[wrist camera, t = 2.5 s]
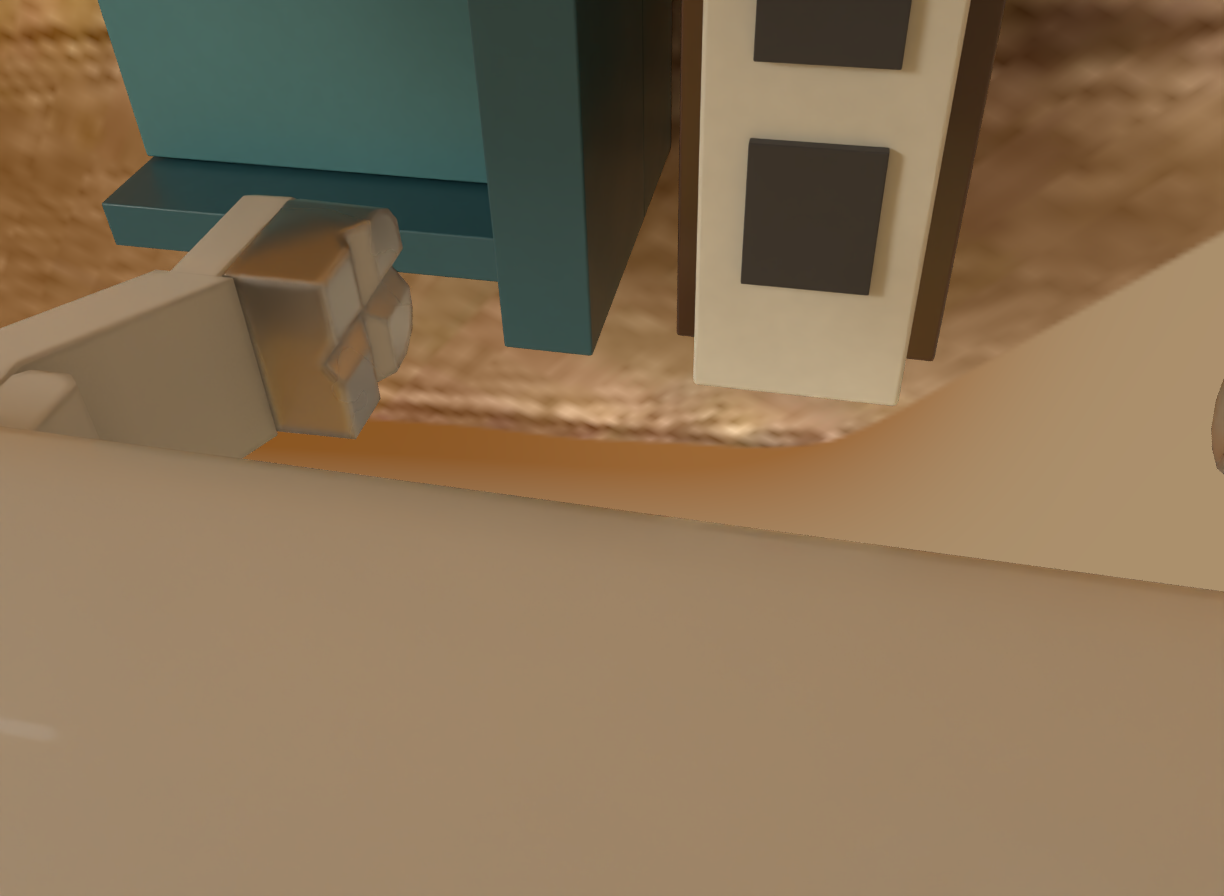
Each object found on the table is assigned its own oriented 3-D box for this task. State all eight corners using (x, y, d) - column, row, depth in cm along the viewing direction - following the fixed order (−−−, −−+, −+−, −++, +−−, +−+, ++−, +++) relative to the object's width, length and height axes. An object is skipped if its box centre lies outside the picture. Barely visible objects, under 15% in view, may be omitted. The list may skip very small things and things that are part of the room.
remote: (714, 297, 22) (690, 393, 20) (749, -526, 14) (712, -521, 12) (901, 315, 21) (897, 416, 19) (1047, -535, 13) (1068, -533, 11)
